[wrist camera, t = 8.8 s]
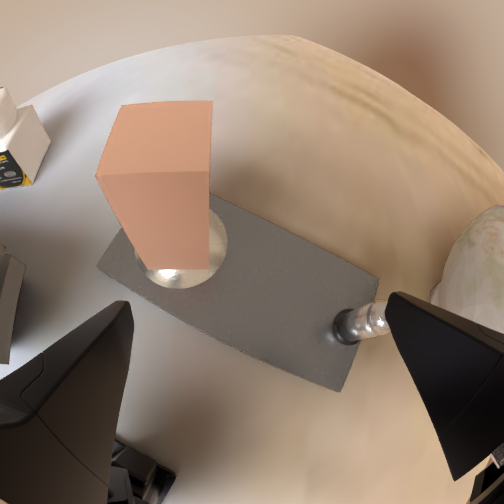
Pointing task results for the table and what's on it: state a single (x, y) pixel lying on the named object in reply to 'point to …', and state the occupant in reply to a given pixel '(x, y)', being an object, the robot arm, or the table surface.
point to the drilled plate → (258, 293)
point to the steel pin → (364, 322)
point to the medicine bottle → (20, 143)
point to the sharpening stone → (8, 299)
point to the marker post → (161, 181)
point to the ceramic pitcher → (476, 272)
